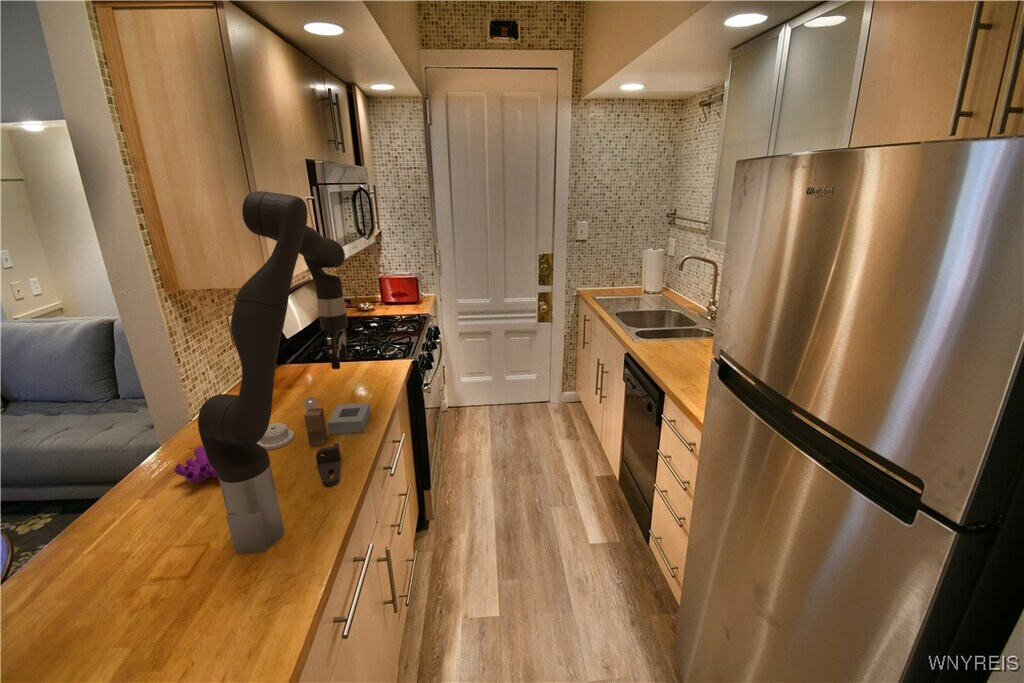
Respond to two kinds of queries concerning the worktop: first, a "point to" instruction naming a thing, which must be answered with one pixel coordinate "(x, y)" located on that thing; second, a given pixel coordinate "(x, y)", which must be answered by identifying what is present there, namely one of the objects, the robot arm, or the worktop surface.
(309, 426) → the walnut peg
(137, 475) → the worktop surface
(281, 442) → the mechanical component
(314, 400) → the grey metallic cylinder
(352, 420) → the socket block
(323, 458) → the bracket
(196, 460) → the purple coral piece
